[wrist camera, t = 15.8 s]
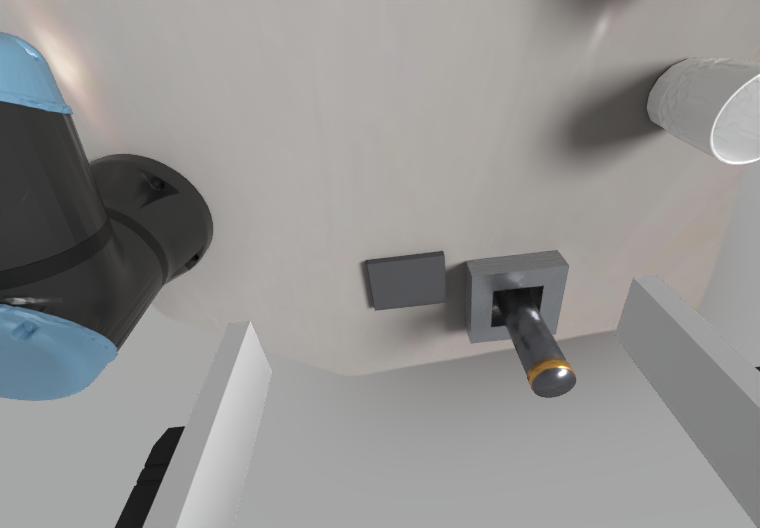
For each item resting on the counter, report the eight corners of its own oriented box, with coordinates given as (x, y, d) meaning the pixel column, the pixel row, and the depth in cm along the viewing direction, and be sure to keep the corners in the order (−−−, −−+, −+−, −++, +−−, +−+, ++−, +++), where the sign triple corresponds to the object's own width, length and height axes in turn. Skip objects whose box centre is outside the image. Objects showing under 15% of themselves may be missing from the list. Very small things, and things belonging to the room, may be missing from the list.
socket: (465, 326, 57) (470, 343, 55) (466, 261, 51) (472, 276, 48) (545, 317, 57) (555, 334, 54) (557, 250, 50) (569, 265, 47)
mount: (374, 305, 55) (374, 310, 54) (367, 260, 50) (367, 264, 49) (444, 298, 54) (445, 302, 53) (443, 251, 50) (444, 255, 49)
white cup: (662, 147, 43) (733, 182, 34) (625, 100, 40) (693, 126, 32) (735, 87, 39) (832, 110, 31) (699, 31, 36) (797, 40, 28)
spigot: (490, 304, 55) (529, 400, 42) (492, 279, 53) (534, 372, 39) (523, 301, 55) (572, 395, 42) (526, 275, 52) (580, 367, 39)
